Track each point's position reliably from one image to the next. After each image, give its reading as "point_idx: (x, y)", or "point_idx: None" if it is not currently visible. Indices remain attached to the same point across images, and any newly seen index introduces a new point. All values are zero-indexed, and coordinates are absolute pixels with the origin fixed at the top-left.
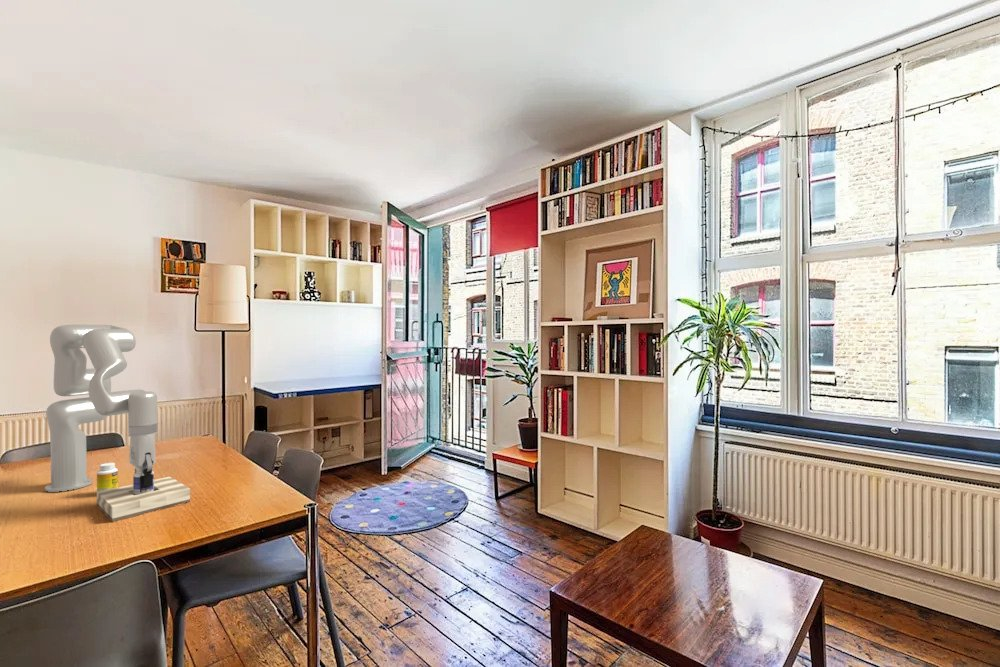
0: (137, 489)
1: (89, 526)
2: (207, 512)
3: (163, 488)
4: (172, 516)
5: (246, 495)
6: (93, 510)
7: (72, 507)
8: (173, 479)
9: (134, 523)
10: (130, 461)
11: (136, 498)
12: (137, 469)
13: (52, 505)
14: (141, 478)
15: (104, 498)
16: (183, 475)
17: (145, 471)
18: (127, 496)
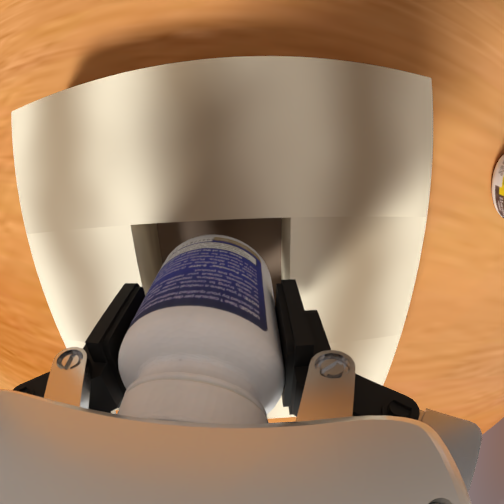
0: (166, 264)
1: (78, 36)
2: (12, 350)
3: None
4: (10, 287)
5: None
6: (324, 55)
7: (441, 32)
8: None
9: (4, 183)
10: (332, 458)
11: (62, 226)
12: (143, 392)
13: (499, 24)
14: (97, 333)
15: (216, 62)
16: (451, 392)
17: (18, 386)
18: (139, 190)
